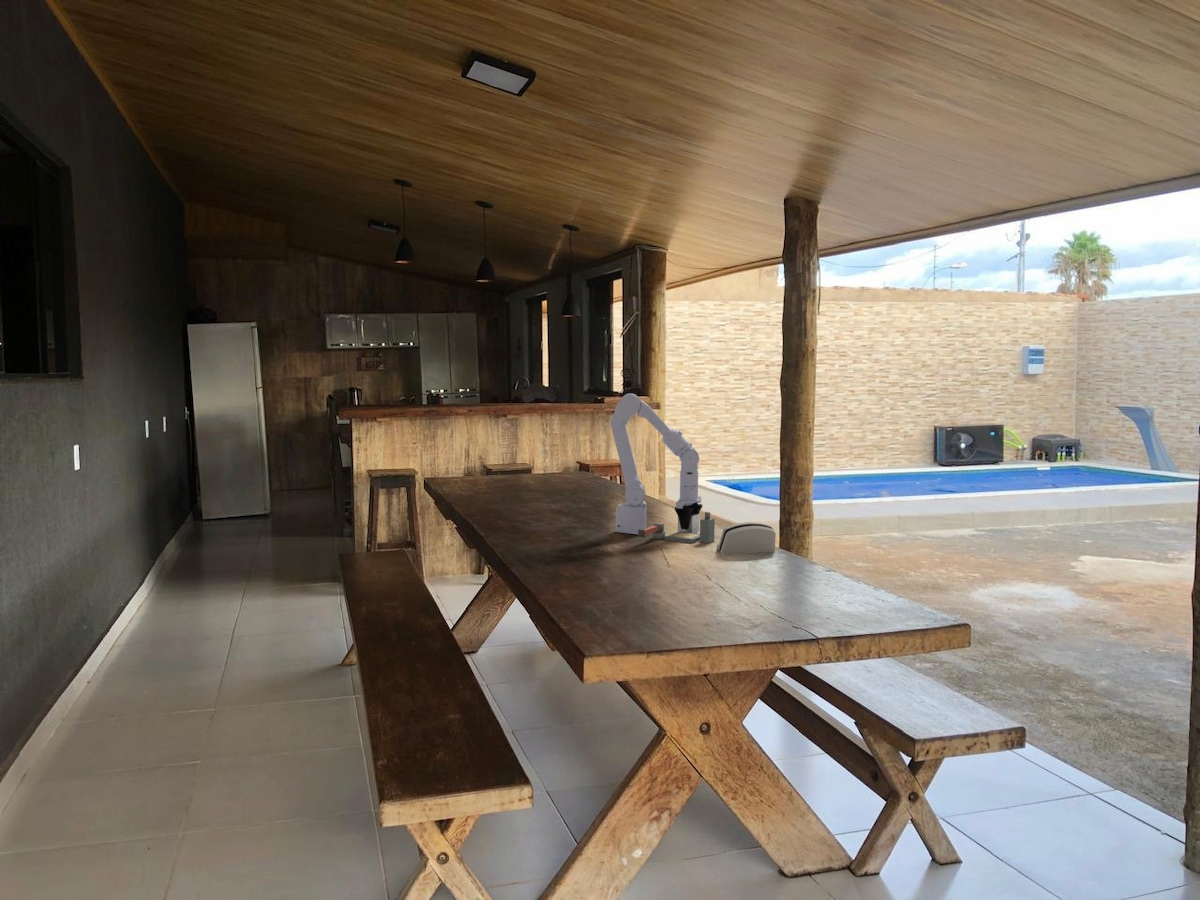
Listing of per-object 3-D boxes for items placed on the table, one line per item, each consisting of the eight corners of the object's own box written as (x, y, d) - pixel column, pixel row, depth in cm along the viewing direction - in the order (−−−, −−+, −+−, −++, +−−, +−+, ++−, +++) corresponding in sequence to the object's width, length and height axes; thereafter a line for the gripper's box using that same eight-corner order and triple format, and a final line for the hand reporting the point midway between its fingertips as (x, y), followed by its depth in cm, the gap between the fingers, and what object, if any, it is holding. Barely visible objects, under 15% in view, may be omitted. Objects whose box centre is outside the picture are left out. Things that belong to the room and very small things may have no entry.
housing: (677, 533, 297) (677, 514, 297) (684, 530, 302) (684, 512, 301) (692, 534, 295) (692, 515, 294) (698, 532, 299) (699, 513, 299)
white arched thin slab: (767, 548, 275) (773, 518, 271) (774, 556, 271) (780, 526, 267) (714, 550, 271) (719, 520, 267) (720, 559, 267) (725, 529, 262)
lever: (635, 536, 279) (635, 529, 279) (656, 529, 291) (656, 522, 291) (644, 537, 278) (644, 530, 277) (665, 530, 289) (665, 523, 289)
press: (649, 538, 288) (650, 509, 288) (663, 533, 297) (663, 505, 296) (704, 545, 279) (705, 515, 278) (717, 539, 287) (718, 510, 286)
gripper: (690, 489, 288) (690, 532, 290) (709, 483, 301) (709, 525, 302) (670, 487, 292) (669, 530, 293) (689, 482, 304) (689, 523, 306)
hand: (688, 527), depth 298 cm, fingers closed on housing, 5 cm apart
